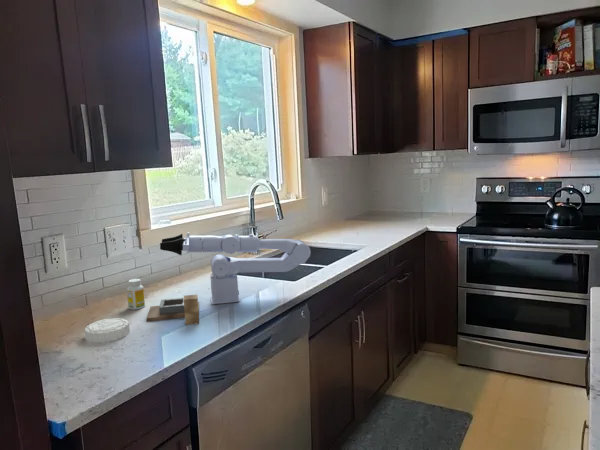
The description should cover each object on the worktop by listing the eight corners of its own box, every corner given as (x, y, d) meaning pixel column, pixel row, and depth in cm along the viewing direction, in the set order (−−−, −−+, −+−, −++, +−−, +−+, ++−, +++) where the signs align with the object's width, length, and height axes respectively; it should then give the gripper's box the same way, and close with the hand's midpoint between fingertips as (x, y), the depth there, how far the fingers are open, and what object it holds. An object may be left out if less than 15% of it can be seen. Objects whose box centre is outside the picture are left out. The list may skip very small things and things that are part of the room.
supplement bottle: (126, 310, 156) (124, 282, 155) (130, 305, 161) (128, 278, 160) (143, 309, 157) (140, 281, 155) (146, 304, 162) (144, 277, 160)
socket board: (199, 304, 159) (198, 294, 159) (199, 315, 148) (198, 305, 147) (150, 309, 156) (149, 299, 156) (146, 321, 145) (145, 310, 144)
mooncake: (113, 325, 143) (112, 314, 143) (138, 332, 136) (137, 320, 136) (76, 338, 133) (75, 326, 133) (101, 346, 127) (100, 334, 126)
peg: (199, 319, 145) (197, 294, 144) (199, 323, 141) (197, 298, 140) (186, 320, 144) (184, 295, 143) (185, 325, 140) (183, 299, 139)
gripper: (202, 229, 165) (162, 229, 162) (202, 235, 151) (159, 235, 148) (202, 249, 166) (162, 249, 163) (202, 256, 152) (159, 257, 149)
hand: (161, 244), depth 156 cm, fingers open, 7 cm apart
